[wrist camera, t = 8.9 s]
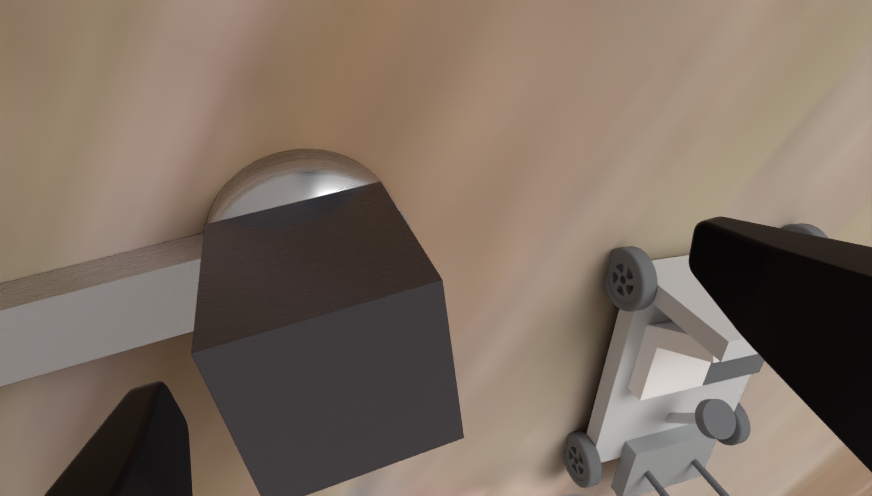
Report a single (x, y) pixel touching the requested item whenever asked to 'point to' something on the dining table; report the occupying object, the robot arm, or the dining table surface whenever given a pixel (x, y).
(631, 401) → the toy car
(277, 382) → the dark grey block
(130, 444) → the robot arm
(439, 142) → the dining table surface
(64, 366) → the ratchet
